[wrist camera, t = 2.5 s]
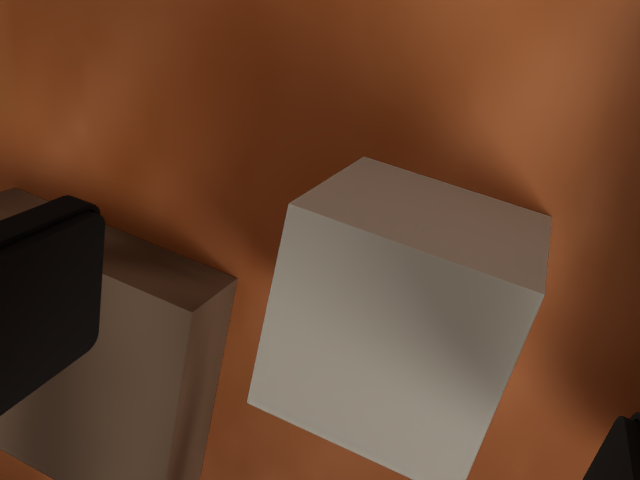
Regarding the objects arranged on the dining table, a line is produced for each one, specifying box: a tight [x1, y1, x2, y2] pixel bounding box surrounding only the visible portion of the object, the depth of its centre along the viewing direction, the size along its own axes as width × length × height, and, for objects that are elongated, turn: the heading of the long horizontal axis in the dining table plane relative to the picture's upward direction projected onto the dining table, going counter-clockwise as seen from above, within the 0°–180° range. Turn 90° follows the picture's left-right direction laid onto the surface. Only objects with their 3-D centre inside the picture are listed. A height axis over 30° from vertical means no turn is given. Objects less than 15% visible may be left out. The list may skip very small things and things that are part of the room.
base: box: [0, 188, 237, 480], centre depth 21 cm, size 9×9×3 cm
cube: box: [247, 156, 552, 480], centre depth 14 cm, size 5×5×5 cm
